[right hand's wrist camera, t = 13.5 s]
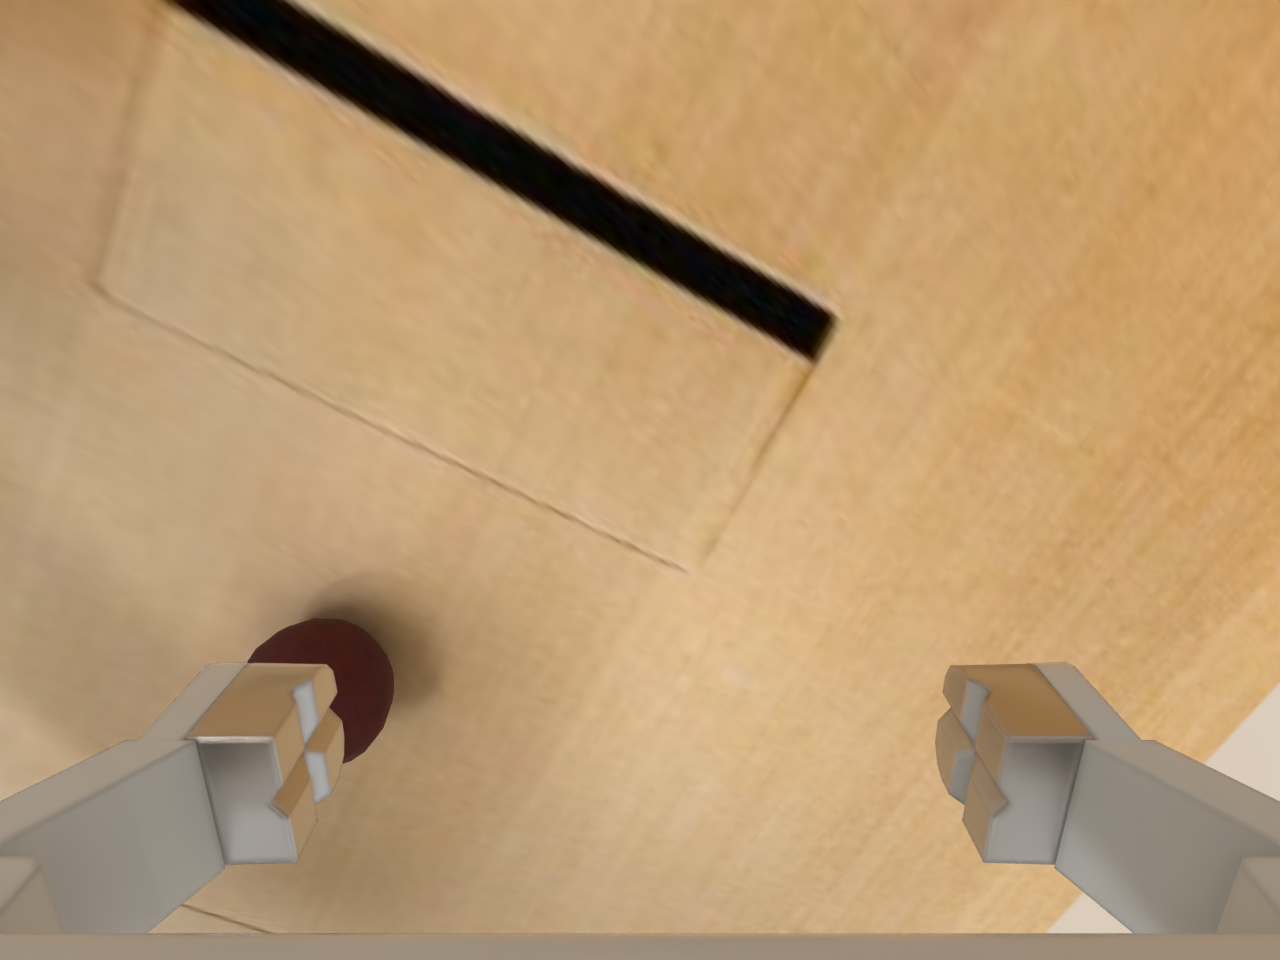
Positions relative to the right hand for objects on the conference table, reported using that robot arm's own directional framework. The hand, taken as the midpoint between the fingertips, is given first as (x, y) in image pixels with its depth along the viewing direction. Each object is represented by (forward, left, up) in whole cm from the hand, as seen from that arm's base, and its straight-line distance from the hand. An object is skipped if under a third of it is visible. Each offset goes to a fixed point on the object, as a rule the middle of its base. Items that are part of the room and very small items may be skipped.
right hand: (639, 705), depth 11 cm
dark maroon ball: (+18, -17, -29) cm, 38 cm away
